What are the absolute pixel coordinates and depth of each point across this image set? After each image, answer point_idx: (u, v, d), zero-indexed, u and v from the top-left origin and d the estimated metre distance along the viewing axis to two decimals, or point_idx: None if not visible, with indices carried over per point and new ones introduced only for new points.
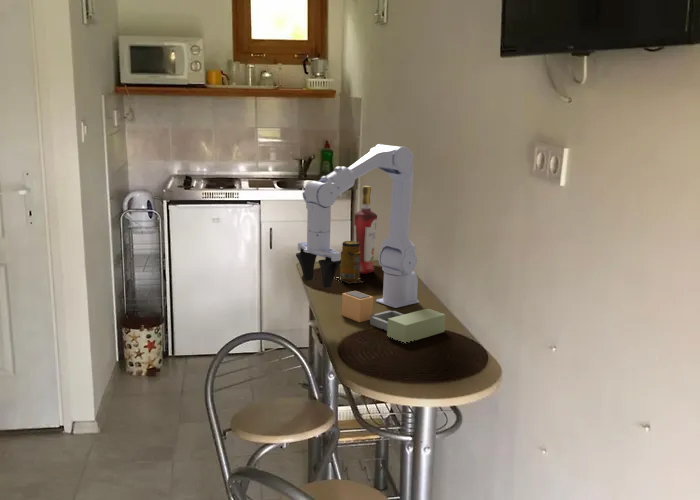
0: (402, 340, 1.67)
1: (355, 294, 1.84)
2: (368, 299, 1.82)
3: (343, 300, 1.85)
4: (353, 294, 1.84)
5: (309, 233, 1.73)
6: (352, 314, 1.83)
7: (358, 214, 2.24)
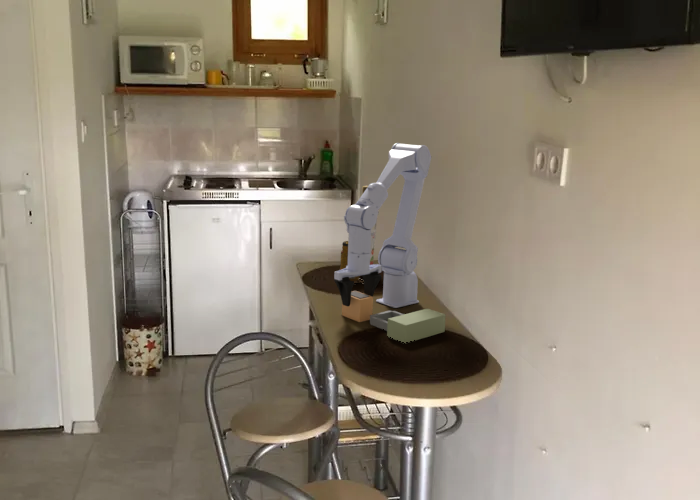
0: (402, 340, 1.67)
1: (355, 294, 1.84)
2: (368, 299, 1.82)
3: None
4: (353, 294, 1.84)
5: None
6: (352, 314, 1.83)
7: None
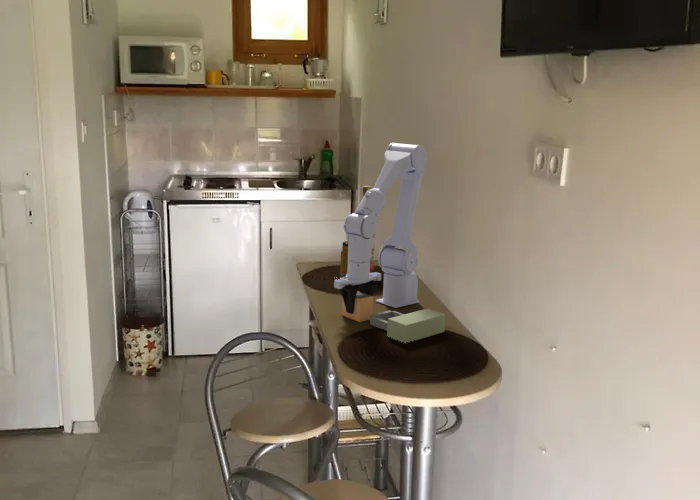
0: (402, 340, 1.67)
1: None
2: (368, 299, 1.82)
3: (343, 300, 1.85)
4: None
5: None
6: None
7: None
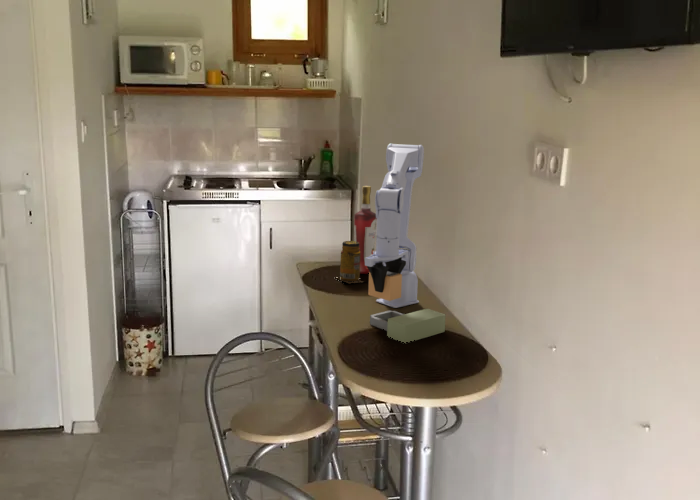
0: (402, 340, 1.67)
1: None
2: (397, 276, 1.76)
3: (370, 279, 1.79)
4: None
5: None
6: (381, 292, 1.77)
7: (358, 214, 2.24)
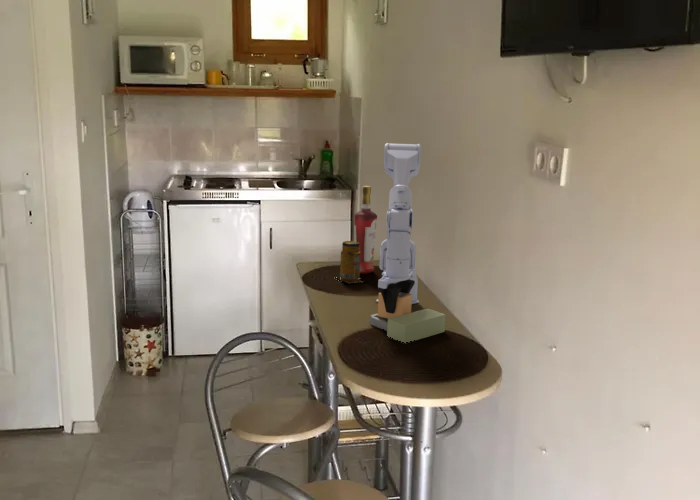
0: (402, 340, 1.67)
1: None
2: (408, 297, 1.76)
3: (380, 300, 1.77)
4: None
5: None
6: None
7: (358, 214, 2.24)
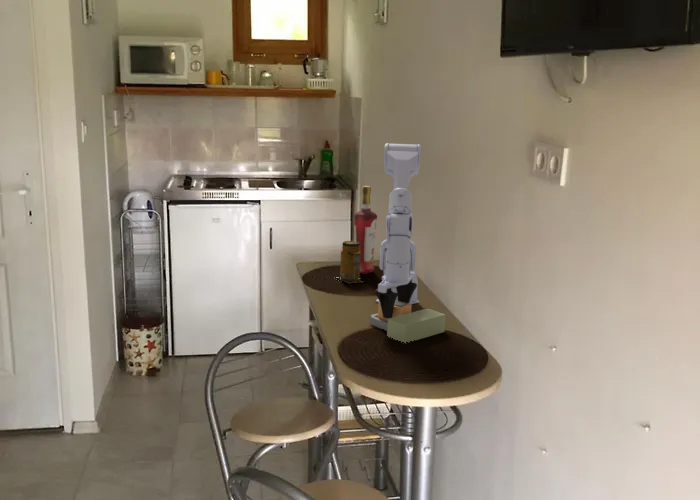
0: (402, 340, 1.67)
1: None
2: (408, 307, 1.76)
3: (380, 310, 1.78)
4: None
5: None
6: None
7: (358, 214, 2.24)
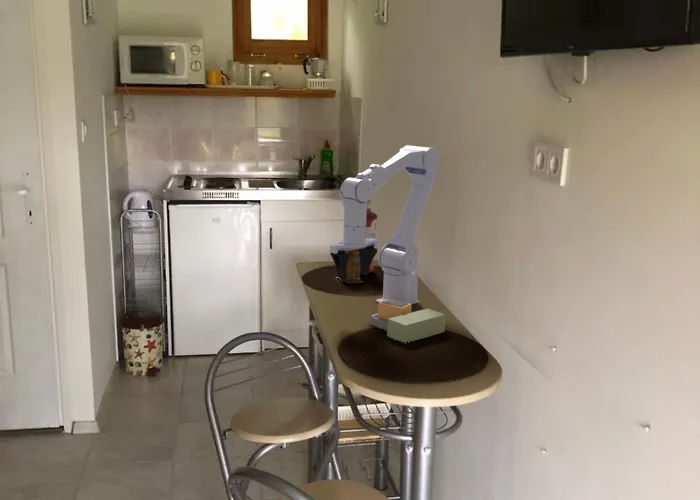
0: (402, 340, 1.67)
1: (393, 302, 1.78)
2: (408, 307, 1.76)
3: (380, 310, 1.78)
4: (391, 303, 1.77)
5: None
6: None
7: None
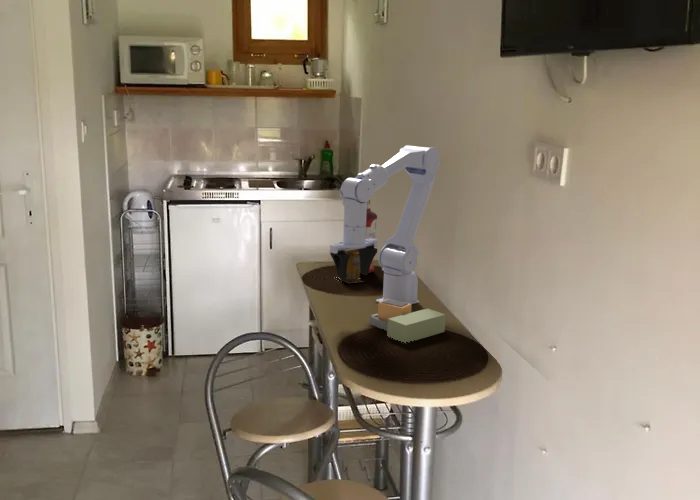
0: (402, 340, 1.67)
1: (393, 302, 1.78)
2: (408, 307, 1.76)
3: (380, 310, 1.78)
4: (390, 303, 1.77)
5: None
6: None
7: None
